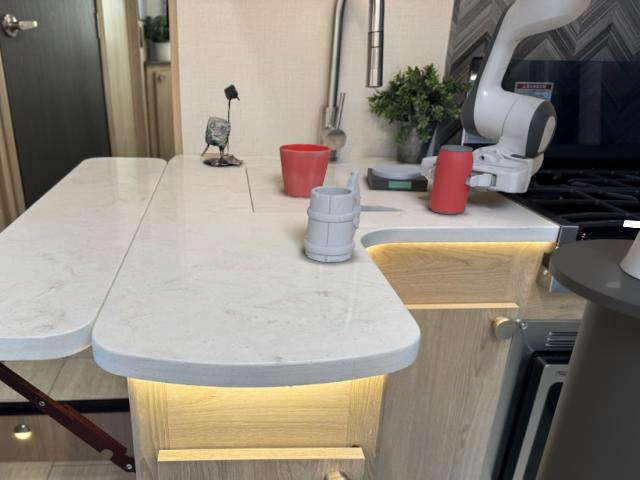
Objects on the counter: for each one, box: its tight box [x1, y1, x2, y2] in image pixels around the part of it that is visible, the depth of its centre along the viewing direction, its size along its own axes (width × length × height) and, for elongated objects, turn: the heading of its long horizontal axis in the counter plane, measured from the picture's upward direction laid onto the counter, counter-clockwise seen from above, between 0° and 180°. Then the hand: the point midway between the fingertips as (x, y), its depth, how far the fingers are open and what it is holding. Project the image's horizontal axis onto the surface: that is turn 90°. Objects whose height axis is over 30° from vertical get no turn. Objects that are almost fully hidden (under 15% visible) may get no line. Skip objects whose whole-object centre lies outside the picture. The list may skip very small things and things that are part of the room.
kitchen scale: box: [366, 164, 429, 192], centre depth 128 cm, size 12×12×4 cm
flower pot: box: [279, 143, 332, 198], centre depth 119 cm, size 11×11×10 cm
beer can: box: [429, 144, 474, 216], centre depth 105 cm, size 7×7×12 cm
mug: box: [303, 169, 363, 263], centre depth 84 cm, size 8×12×12 cm, turn 139°
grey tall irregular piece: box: [200, 84, 243, 166], centre depth 145 cm, size 8×11×20 cm
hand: (449, 178), depth 105 cm, fingers closed on beer can, 6 cm apart
